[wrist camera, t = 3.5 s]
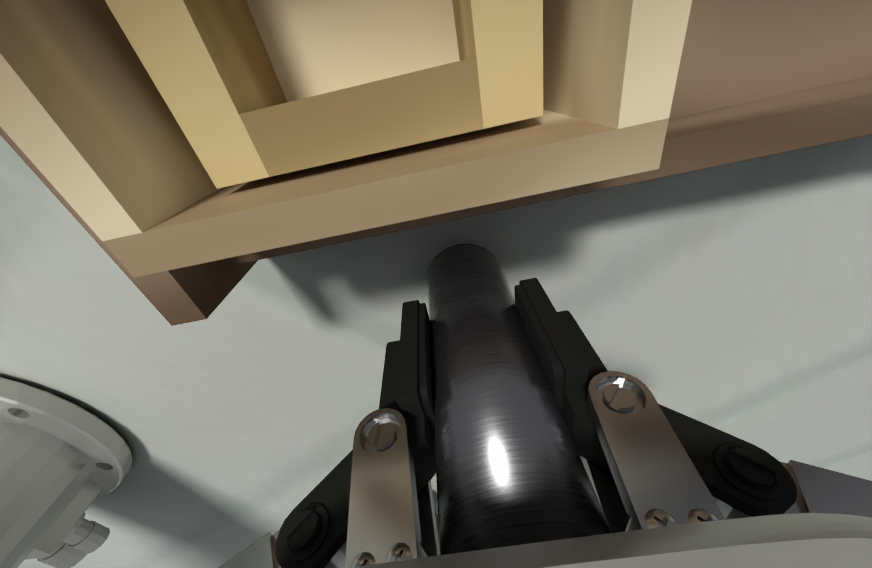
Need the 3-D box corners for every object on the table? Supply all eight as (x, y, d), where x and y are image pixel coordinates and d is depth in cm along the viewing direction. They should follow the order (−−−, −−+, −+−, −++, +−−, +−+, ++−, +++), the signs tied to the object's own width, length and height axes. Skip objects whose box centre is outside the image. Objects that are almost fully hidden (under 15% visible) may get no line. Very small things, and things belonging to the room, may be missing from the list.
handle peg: (502, 298, 15) (612, 591, 6) (435, 310, 15) (456, 608, 7) (496, 237, 13) (638, 531, 5) (420, 252, 13) (423, 559, 5)
